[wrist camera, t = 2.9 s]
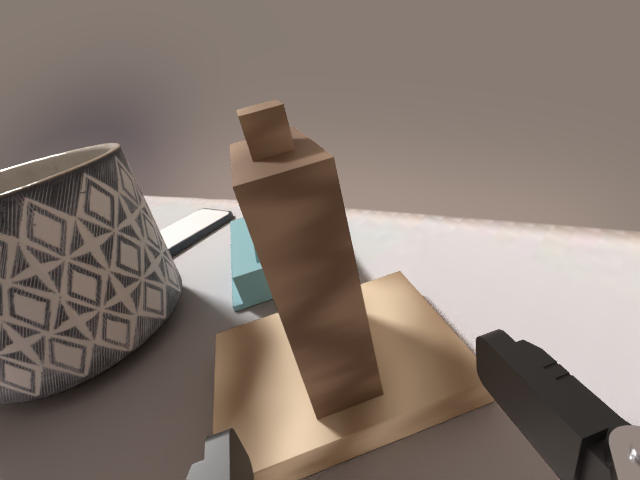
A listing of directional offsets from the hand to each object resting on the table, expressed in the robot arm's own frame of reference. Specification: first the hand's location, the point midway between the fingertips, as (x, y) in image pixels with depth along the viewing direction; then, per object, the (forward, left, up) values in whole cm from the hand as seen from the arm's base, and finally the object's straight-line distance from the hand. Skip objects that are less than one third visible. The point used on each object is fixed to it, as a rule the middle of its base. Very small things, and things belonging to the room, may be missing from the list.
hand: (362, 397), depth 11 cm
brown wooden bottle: (0, +10, -8) cm, 13 cm away
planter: (-21, +25, -10) cm, 34 cm away
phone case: (-15, +44, -11) cm, 48 cm away
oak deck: (0, +10, -10) cm, 14 cm away
